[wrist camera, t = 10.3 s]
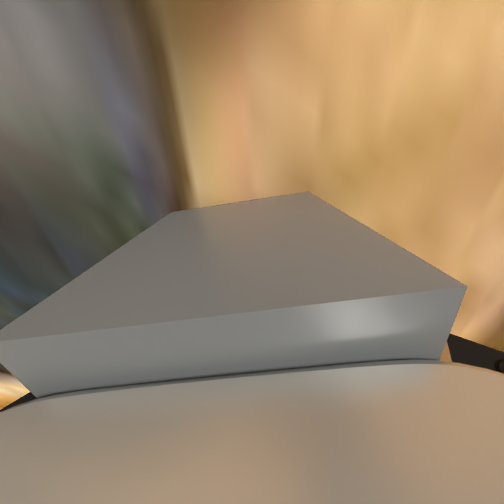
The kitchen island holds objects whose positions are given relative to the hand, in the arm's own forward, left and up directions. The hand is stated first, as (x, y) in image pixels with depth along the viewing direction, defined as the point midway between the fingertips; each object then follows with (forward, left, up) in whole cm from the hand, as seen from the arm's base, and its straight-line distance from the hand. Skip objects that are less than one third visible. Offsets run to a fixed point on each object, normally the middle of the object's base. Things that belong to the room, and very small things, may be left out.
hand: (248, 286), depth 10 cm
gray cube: (0, 0, -2) cm, 2 cm away
